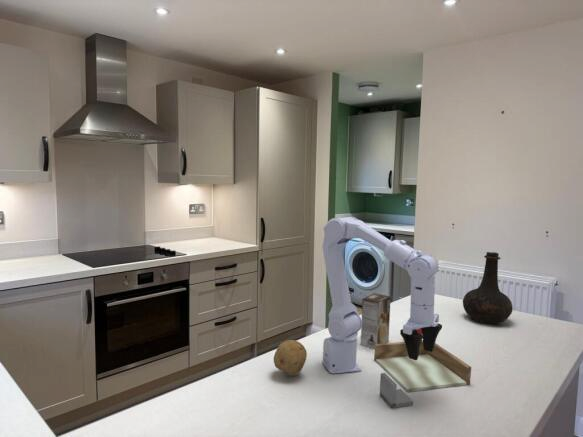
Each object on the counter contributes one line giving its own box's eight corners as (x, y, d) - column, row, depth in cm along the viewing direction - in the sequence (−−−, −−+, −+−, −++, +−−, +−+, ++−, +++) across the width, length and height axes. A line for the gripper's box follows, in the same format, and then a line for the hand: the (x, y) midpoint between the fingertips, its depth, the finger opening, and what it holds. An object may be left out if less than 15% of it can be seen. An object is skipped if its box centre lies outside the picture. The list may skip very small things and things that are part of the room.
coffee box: (372, 336, 142) (374, 292, 140) (389, 341, 138) (391, 296, 136) (359, 344, 134) (361, 298, 133) (377, 350, 131) (379, 302, 129)
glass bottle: (452, 314, 169) (457, 248, 166) (487, 311, 174) (491, 248, 172) (484, 330, 152) (490, 257, 149) (521, 326, 157) (527, 255, 155)
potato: (277, 384, 107) (278, 348, 106) (270, 369, 115) (270, 335, 114) (309, 381, 109) (311, 345, 108) (300, 366, 118) (301, 333, 117)
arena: (407, 392, 105) (408, 373, 104) (374, 359, 123) (374, 344, 123) (470, 384, 110) (471, 367, 109) (429, 354, 128) (430, 339, 128)
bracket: (391, 408, 97) (392, 385, 96) (379, 395, 103) (380, 373, 102) (413, 405, 99) (414, 382, 98) (400, 393, 104) (401, 371, 104)
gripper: (422, 312, 94) (420, 368, 95) (450, 300, 104) (449, 351, 105) (396, 305, 99) (394, 358, 100) (425, 295, 109) (424, 343, 110)
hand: (420, 354), depth 103 cm, fingers open, 7 cm apart
